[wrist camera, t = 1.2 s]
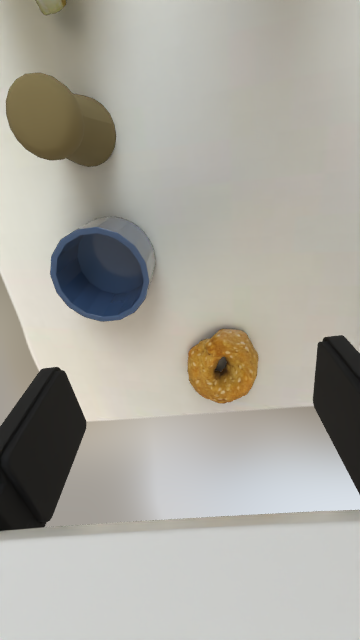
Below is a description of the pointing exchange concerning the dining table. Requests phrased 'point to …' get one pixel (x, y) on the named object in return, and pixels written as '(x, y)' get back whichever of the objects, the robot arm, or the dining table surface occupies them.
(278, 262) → the dining table surface
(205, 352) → the bagel
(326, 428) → the robot arm
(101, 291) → the crock
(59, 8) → the mug
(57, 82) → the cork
